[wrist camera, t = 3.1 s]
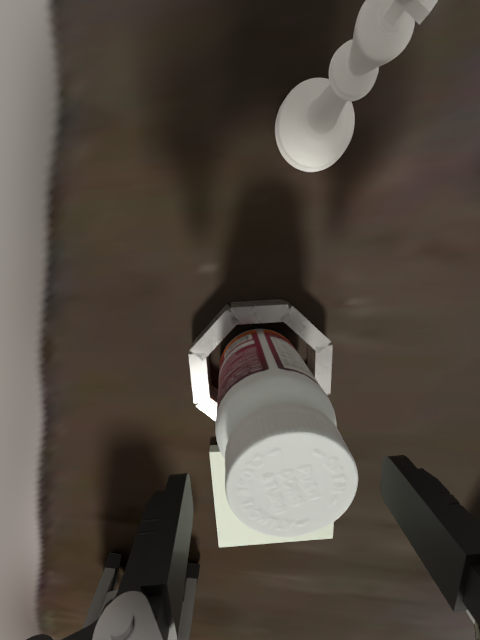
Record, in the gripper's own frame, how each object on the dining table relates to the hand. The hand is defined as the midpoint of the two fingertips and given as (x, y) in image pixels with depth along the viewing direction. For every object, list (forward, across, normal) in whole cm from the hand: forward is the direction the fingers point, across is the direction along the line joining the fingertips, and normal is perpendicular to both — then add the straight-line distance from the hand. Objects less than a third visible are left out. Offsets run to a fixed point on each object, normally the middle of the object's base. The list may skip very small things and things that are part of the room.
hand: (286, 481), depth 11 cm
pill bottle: (+11, 0, 0) cm, 11 cm away
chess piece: (+10, -4, -16) cm, 20 cm away
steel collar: (+10, 0, 0) cm, 11 cm away
